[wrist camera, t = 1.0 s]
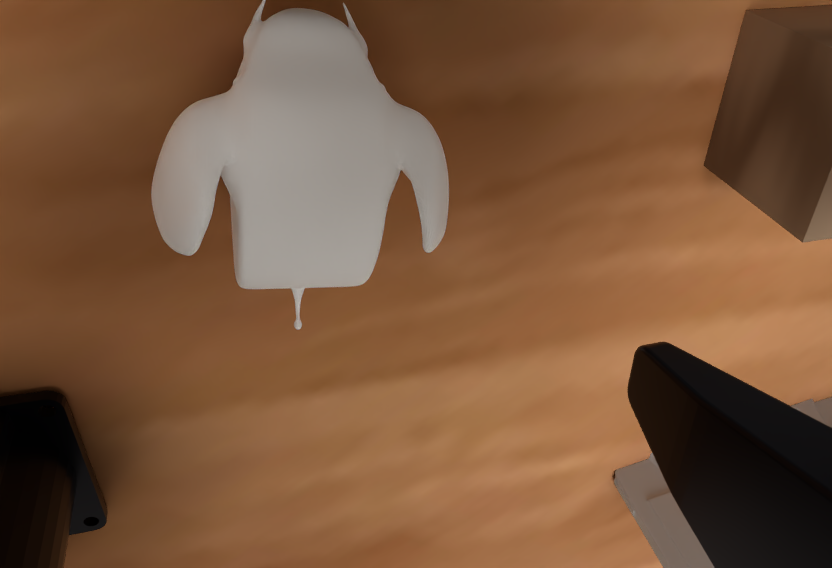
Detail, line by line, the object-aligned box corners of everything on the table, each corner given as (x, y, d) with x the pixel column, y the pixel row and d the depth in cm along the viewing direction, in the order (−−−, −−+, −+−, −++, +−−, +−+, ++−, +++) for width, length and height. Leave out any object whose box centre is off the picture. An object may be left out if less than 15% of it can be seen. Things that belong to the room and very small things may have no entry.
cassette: (611, 487, 34) (702, 645, 28) (610, 462, 32) (705, 621, 26) (841, 408, 35) (979, 543, 29) (849, 382, 34) (993, 517, 27)
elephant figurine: (428, -13, 18) (509, 62, 14) (391, 252, 23) (443, 377, 18) (147, -39, 17) (129, 38, 12) (166, 255, 21) (158, 396, 16)
